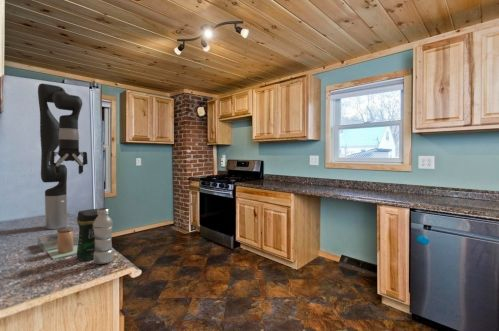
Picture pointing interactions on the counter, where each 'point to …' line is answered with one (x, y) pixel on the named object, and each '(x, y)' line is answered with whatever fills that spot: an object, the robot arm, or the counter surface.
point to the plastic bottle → (103, 237)
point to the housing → (52, 242)
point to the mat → (56, 255)
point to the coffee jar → (86, 234)
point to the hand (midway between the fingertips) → (69, 174)
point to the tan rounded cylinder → (65, 240)
